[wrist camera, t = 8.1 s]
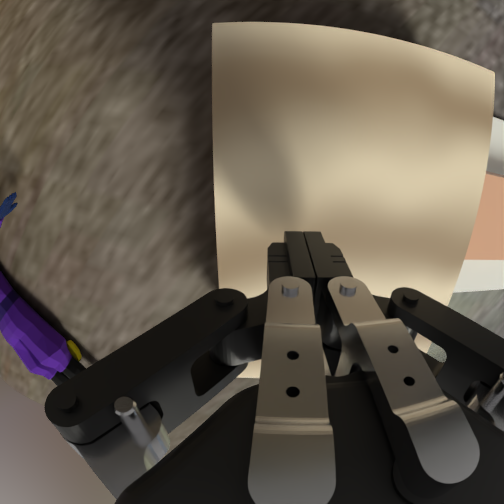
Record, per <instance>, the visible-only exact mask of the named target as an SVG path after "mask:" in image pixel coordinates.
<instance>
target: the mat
mask: <svg viewBox="0 0 504 504" xmlns="http://www.w3.org/2000/svg"><path fill="white" fill-rule="evenodd" d="M486 171H489V172H493V173H497V174H501V175H504V121H503V120H500V119H498V118H495V117H493V122H492V132H491V141H490V148H489V155H488V162H487V168H486ZM498 289H504V260H464V262H463V265H462V268H461V271H460V274H459V277H458V279H457V282H456V285H455V288H454V290H453V292H469V291H484V290H498Z"/></svg>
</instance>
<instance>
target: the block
mask: <svg viewBox="0 0 504 504" xmlns="http://www.w3.org/2000/svg"><path fill="white" fill-rule="evenodd" d="M494 89H495V72H493V71H490V70H488V69H486V68H483V67H481V66H479V65H476V64H474V63H471V62H469V61H466V60H463V59H461V58H458V57H455V56H452V55H450V54H447V53H444V52H441V51H438V50H434V49H431V48H428V47H425V46H421V45H418V44H414V43H410V42H407V41H403V40H399V39H395V38H390V37H386V36H381V35H377V34H372V33H366V32H361V31H355V30H349V29H343V28H335V27H328V26H319V25H309V24H297V23H279V22H226V23H212V126H213V167H214V197H215V221H216V242H217V261H218V278H219V289H221V288H231V289H236V290H238V291H241V292H242V293H244V294H245V296H246V297H247V298H252V297H256V296H259V295H261V294H263V293H264V292H265V291H266V290H267V248H268V247H269V246H270V245H271V243H272V242H284V231H302V232H303V231H320V232H321V234H322V236H323V238H324V241H325V243H333V244H335V245H336V246H337V247H338V248H340V250H341V252H342V254H343V257H344V258H345V260H346V263H347V264H348V267H349V269H350V271H351V273H352V275H353V277H354V278H356V279H358V280H360V281H362V282H363V283H364V284H365V285H366V286H367V288H368V289H369V291H370V293H371V294H372V295H376V296H381V297H386V298H390V297H391V293H392V291H393V290H395V289H397V288H400V287H408V288H412V289H415V290H418V291H420V292H421V293H423V294H425V295H427V296H429V297H431V298H433V299H434V300H436V301H438V302H440V303H442V304H443V305H445V306H448V303H449V301H450V298H451V296H452V293H453V290H454V288H455V285H456V282H457V279H458V277H459V274H460V271H461V268H462V265H463V262H464V259H465V255H466V252H467V249H468V246H469V242H470V239H471V235H472V232H473V228H474V224H475V220H476V216H477V212H478V208H479V204H480V199H481V194H482V190H483V185H484V179H485V174H486V168H487V162H488V155H489V148H490V141H491V132H492V122H493V109H494ZM414 342H415V344H416V346H417V347H418V349H420V350H421V351H423V352H425V353H427V351H428V349H429V347H430V345H431V343H432V341H430V340H428V339H427V338H425V337H423V336H422V335H420V334H419V333H417V336H416V338H415V340H414ZM260 370H261V359H260V360H256V361H252V362H248V366H247V367H246V369H245V370H244V371H243V372H242V373H241V374H240V375H238V376H237V377H240V378H260Z"/></svg>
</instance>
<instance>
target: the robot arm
mask: <svg viewBox="0 0 504 504" xmlns="http://www.w3.org/2000/svg"><path fill="white" fill-rule="evenodd" d="M417 333H419V334H420V335H422V336H423V337H425V338H427V339H428V340H430V341H432V342H433V343H435V344H437V345H438V346H440V347H442V348H443V349H444V350H445V352H446V354H447V359H446V361H445V362H439V361H437V360H436V359H434V358H433V357H431V356H429V355H428V354H426V353H425V352H423V351H421V350H420V349H418V347H417V346H416V344H415V342H414V340H415V338H416V336H417ZM260 359H261V370H260V380H259V384H257V385H254V386H251V387H249V388H247V389H244V390H242V391H241V392H239V393H237V394H236V395H234V396H233V397H231V398H230V399H229V400H228V401H226V402H225V403H224V404H223V405H222V406H221V407H220V408H219V409H218V410H217V411H216V412H215V413H214V414H212V415H211V416H210V417H209V418H208V419H207V420H206V421H205V422H204V423H203V424H202V425H201V426H199V427H198V428H197V429H196V430H195V431H194V432H193V433H192V434H190V435H189V436H188V437H187V438H186V439H185V440H184V441H183V442H181V443H180V444H179V445H178V446H177V447H176V448H174V449H173V450H172V451H171V452H170V453H169V454H167V455H166V456H165V457H164V458H163V459H161V458H162V457H163V456H164V455H165V454H166V452H167V451H168V449H169V445H170V438H169V435H168V434H169V433H170V432H171V431H172V430H174V429H175V428H176V427H177V426H179V425H180V424H181V423H182V422H184V421H185V420H186V419H187V418H189V417H190V416H191V415H192V414H194V413H195V412H196V411H197V410H199V409H200V408H201V407H202V406H203V405H205V404H206V403H207V402H208V401H209V400H211V399H212V398H213V397H214V396H215V395H217V394H218V393H219V392H220V391H221V390H222V389H224V388H225V387H226V386H227V385H228V384H229V383H230V382H232V381H233V380H234V379H235V378H236V377H237V376H238V375H240V374H241V373H242V372H243V371H244V370H245V369H246V367H247V366H248V362H252V361H256V360H260ZM45 413H46V416H47V417H48V419H49V420H50V421H51V422H52V424H53V425H54V426H55V427H56V428H57V429H58V431H59V432H60V434H61V435H62V437H63V438H64V439H65V440H66V441H67V442H68V444H69V445H70V446H71V447H72V448H73V449H74V450H75V451H76V452H77V453H78V454H79V455H80V456H81V457H82V458H84V459H85V460H86V462H87V463H88V465H89V466H90V467H91V468H92V470H93V471H94V472H95V474H96V475H97V476H98V478H99V479H100V480H101V481H102V483H103V484H104V485H105V486H106V488H107V489H108V490H109V491H110V492H111V493H112V495H113V496H114V497H115V498H116V499H117V500H116V502H115V504H504V339H503V338H501V337H500V336H498V335H496V334H495V333H493V332H491V331H489V330H488V329H486V328H484V327H483V326H481V325H479V324H477V323H476V322H474V321H472V320H470V319H469V318H467V317H465V316H463V315H461V314H460V313H458V312H456V311H454V310H453V309H451V308H449V307H447V306H445V305H443V304H442V303H440V302H438V301H436V300H434V299H433V298H431V297H429V296H427V295H425V294H423V293H421V292H420V291H418V290H415V289H412V288H408V287H400V288H397V289H395V290H393V291H392V293H391V297H390V298H386V297H381V296H376V295H372V294H371V293H370V291H369V289H368V288H367V286H366V285H365V284H364V283H363V282H362V281H360V280H358V279H356V278H354V277H353V275H352V273H351V271H350V269H349V267H348V264H347V263H346V260H345V258H344V257H343V254H342V252H341V250H340V248H338V247H337V246H336V245H335V244H333V243H325V241H324V238H323V236H322V234H321V232H320V231H303V232H302V231H284V242H272V243H271V245H270V246H269V247H268V248H267V290H266V291H265V292H264V293H263V294H261V295H259V296H256V297H252V298H247V297H246V296H245V294H244V293H242V292H241V291H238V290H236V289H231V288H221V289H216V290H213V291H211V292H209V293H207V294H206V295H204V296H203V297H201V298H200V299H198V300H196V301H195V302H193V303H192V304H190V305H188V306H187V307H185V308H184V309H182V310H180V311H179V312H177V313H176V314H174V315H172V316H171V317H169V318H168V319H166V320H164V321H163V322H161V323H160V324H158V325H156V326H155V327H153V328H152V329H150V330H148V331H147V332H145V333H143V334H142V335H140V336H139V337H137V338H135V339H134V340H132V341H131V342H129V343H127V344H126V345H124V346H122V347H121V348H119V349H118V350H116V351H114V352H113V353H111V354H109V355H108V356H106V357H105V358H103V359H101V360H100V361H98V362H96V363H95V364H93V365H92V366H90V367H88V368H87V369H85V370H83V371H82V372H80V373H78V374H77V375H75V376H73V377H72V378H70V379H69V380H67V381H65V382H64V383H62V384H60V385H59V386H57V387H56V388H54V389H53V390H52V391H51V392H50V394H49V395H48V397H47V399H46V402H45ZM160 459H161V460H160ZM159 460H160V461H159Z"/></svg>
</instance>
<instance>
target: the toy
mask: <svg viewBox="0 0 504 504" xmlns="http://www.w3.org/2000/svg"><path fill="white" fill-rule="evenodd" d="M15 198H16V192H15V193H12V194H11V195H10V196H9V197H7V198H6V199H5V200H4V202H3V203H2V205H1V206H0V227H1V224H2V222H3V219H4V217H5V216H6V215H7V214H9V213H10V212H11V211H12V210H13V209H14V208H15V207H16V206H17V203H14V204H13V205H12V203H13V201H14V200H15ZM0 330H1V333H2V335H3V336H4V338H5V339H6V341H7V342H8V343H9V344H10V345H11V346H12V347H13V348H14V350H15V351H16V353H17V354H18V356H19V357H20V359H21V360H22V362H23V363H24V364H25V366H26V367H27V369H28V370H29V371H30V372H31V373H34V374H38V375H43V376H44V377H46V378H47V379H52V381H53V382H54V383H55V384H56V385H57V386H59V385H60V384H62V383H64V382H65V381H67V380H69V379H70V378H72V377H73V376H75V375H77V374H78V373H80V372H82V371H83V370H85V369H86V368H85V367H84V366H83V365H82V364H81V363H79V361H80V360H81V357H82V356H81V353H80V350H79V349H78V347H77V346H76V344H75V343H74V342H73V341H72V340H68V341H66V340H65V338H64V337H63V336H61V335H60V334H59V333H58V332H57V331H56V330H55V329H54V328H53V327H52V326H50V325H49V324H48V323H47V322H46V321H45V320H44V319H43V318H42V317H41V316H40V315H39V314H38V313H36V312H35V311H34V310H33V309H32V308H31V307H30V306H29V305H28V304H27V303H26V301H24V300H23V299H22V298H21V297H20V296H19V295H18V294H17V292H16V291H15V290H14V289H13V288H12V286H11V285H10V284H9V282H8V281H7V279H6V278H5V276H4V275H3V273H2V272H1V271H0Z"/></svg>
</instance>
